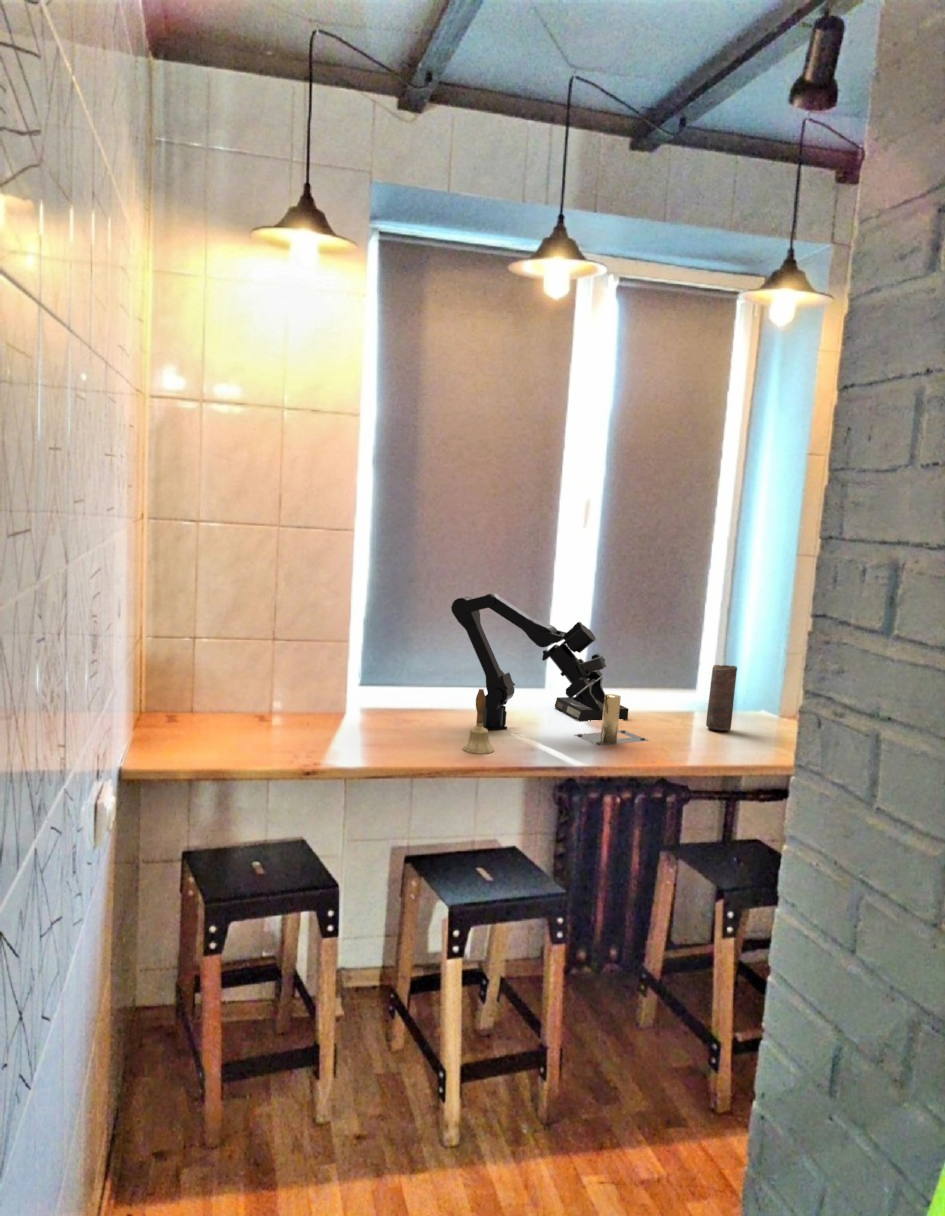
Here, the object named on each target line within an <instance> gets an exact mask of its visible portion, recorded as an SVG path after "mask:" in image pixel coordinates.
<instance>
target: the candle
mask: <svg viewBox="0 0 945 1216" xmlns="http://www.w3.org/2000/svg"><path fill="white" fill-rule="evenodd" d="M737 671H738V666H736V665H729V664H728V665H726V664H724V665H721V664H714V665H713V666H712V671H711V678H710V688H709V697H708V705H707V713H706V723H705V725H706V727H707V728H708V729H709V730H714V731H716V730H717V731H720V732H721V731H731V729H732V723H733V722H732V719H733V712H734V711H733V710H734V700H735V692H736V691H735V690H736V681H737V674H738V673H737Z"/></svg>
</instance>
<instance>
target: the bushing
mask: <svg viewBox="0 0 945 1216" xmlns="http://www.w3.org/2000/svg"><path fill="white" fill-rule="evenodd" d="M621 699H622V697H621V696H620V695H619V694H613V693H612V694H611V693H605V695H604V706H603V717H602V720H601V731H600V732H601V741H603V742H607V743H616V742H617V739H618V733H619V732H618V731H619V720H620V719H619V710H620V705H621Z"/></svg>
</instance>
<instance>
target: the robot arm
mask: <svg viewBox="0 0 945 1216" xmlns="http://www.w3.org/2000/svg"><path fill="white" fill-rule="evenodd" d="M485 609H490V610H492V611H493V612H494V613H496V614H498V615H500V616H501V617H502V618H503V619H505V620H507V621H509V622H510V623H511V624H513V625H515V626H516V627H517V628H519V629H521V631H523V632H524V633H525V634H526V636H527V637H528V638H529V640H531V641H532V642H533V643H534V644H535V645H536V646H537V647H540V648H547V647H550V646H551V648H549V649H548V650H547V649H544V650H542V658H541V660H542V661H547V660H548V659H550V660H551V661H552V662H553V664H555V666H556V667H557V668H558V669H559V671H560V673H559V674H560V675H561V676H562V677H565V678H566V679H567V681H568V682H569V683H570V684H569V686H568V687H567V688H566V689H565V695H566V696H567V697H569V699H571V698H572V697H574V698H573V700H575V701H577V702H579V703H581V704H583V705H585V706H587V707H589V708H591V709H593V710H595V711H597V712H599V711H601V708H600V706H599V704H598V703H597V701H596V700H598V701H599V702H601V703H602V704H604V695H605V694H606V693H605V691H604V689H603V686H602V683H603V680H604V678H603V677H602V676H603V673H602V672H601V671H600V670H603V669H605V668H607V664H606V662H605V661H606V658H604V656H603V655H600V654H599V653H596V654H593V655H591V659H589V660H586V661H584V660H583V659H582V658H579V659H578V657H577V656H576V655H575V654H574V653H576V652H577V653H578V654H580V653H582V652H583V651H584V650H585V649H587V648H588V647H589V646H590V645H591V644H593V643H594V642H595V641H596V640H597V639H596V636H595V635H594V633H593V632H592V630H591V629H589V628H588V627H587V626H585V625H584V624H582V622H581V621H578V622H576V623H575V624H574V625H573V626H572V628H570V629H569V630H568V631H567V632H565V631H562V630H558V629H557V628H556V627H555V626H554V625H552V624H549V623H547V622H545V621H542V620H539V619H537V618H534V617H531V616H530V615H528V614H527V613H525V612H523V610H521V609H519V608H518V607H516V606H515V605H513V604H511V603H510V602H509V601H507V600H505V599H504V598H502V597H501V596H500V595H499V594H498V593H496V592H492V593H488V594H486V595H483V596H478V597H472V596H463V597H458V598H456V599H455V600H453V602H452V605H451V608H450V611H451V613H452V614H453V616H454V617H455V620H456V621H457V623H458V624H460V625H461V627H462V628H463V629H465V632H466V633H467V636H468V639H469V641H470V643H471V645H472V647H473V650H474V652H475V654H476V656H477V659H478V662H479V664H480V666H481V668H482V671H483V673H484V675H485V688H486V691H487V694H485V698H486V704H485V709H484V712H483V727H484V728H485V729H487V730H488V731H494V730H495V731H496V730H507V729H508V726H506V724H507V710H506V708H507V707H506V705H507V704H508V701H509V700H510V699H511V698H513V697H514V693H515V686H516V684H515V683H514V681H513V679H512V676H511V674H510V673H511V672H506V673H504V671H503V670H502V669H501V668H500V666H499V664H498V660H497V659H496V658H497V657H495V653H494V652H493V650H492V647H491V645H490V642H489V640H488V638H487V636H486V634H485V631H484V629H483V626H482V623H481V612H480V610H485ZM562 641H563V642H562ZM560 642H562V643H561V644H559V645H558V644H557V643H560ZM595 699H596V700H595Z"/></svg>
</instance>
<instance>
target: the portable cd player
mask: <svg viewBox="0 0 945 1216" xmlns="http://www.w3.org/2000/svg"><path fill="white" fill-rule="evenodd" d="M574 697H575V696H574ZM574 697H572V698H571V699H569V697H568V696H567V697H565V696H564V697H559V696H558V697H556V699H555V704H554V708H555V709H556V710H558V711H559V712H561V711H562V713H564V714H565V713H566V714H565V715H567V716H569V717H571V716H572V717H571V718H572V719H574V718H575V720H576V719H577V720H576V721H578V720H579V722H592V721H591V720H598V721H602V717H603V706H604V704H602V703H601V702H599V701H598V700H596V699H595V700H596V701H597V703H598V704H599V706H600V708H601V711H599V712H597V711H595V710H593V709H591V708H589V707H587V706H585V705H583V704H581V703H579V702H577V701H575V700H573V698H574ZM621 719H624V720H623V721H626V720H625V719H629V708H628V707H626V706H623V705H622V704H620V710H619V720H621ZM588 720H590V721H588Z"/></svg>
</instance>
